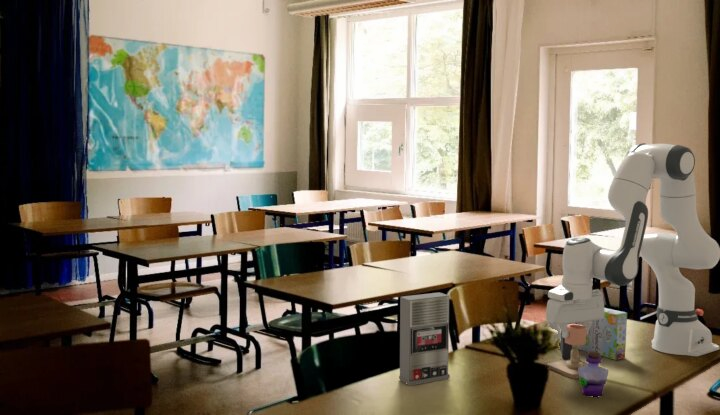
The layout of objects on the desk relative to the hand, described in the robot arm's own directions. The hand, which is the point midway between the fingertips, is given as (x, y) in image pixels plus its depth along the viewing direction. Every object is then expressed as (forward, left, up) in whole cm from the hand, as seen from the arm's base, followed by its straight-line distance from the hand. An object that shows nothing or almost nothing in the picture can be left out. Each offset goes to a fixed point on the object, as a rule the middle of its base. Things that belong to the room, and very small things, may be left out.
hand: (575, 336), depth 233 cm
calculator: (-9, -14, -11) cm, 20 cm away
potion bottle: (+10, +19, -11) cm, 24 cm away
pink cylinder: (0, 0, -2) cm, 2 cm away
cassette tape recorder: (+46, -12, -11) cm, 49 cm away
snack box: (-20, -13, -11) cm, 26 cm away
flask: (-16, -29, -11) cm, 35 cm away
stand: (0, 0, -11) cm, 11 cm away
